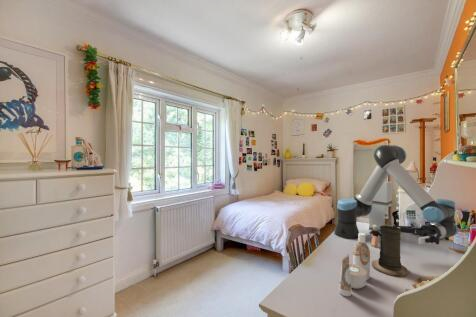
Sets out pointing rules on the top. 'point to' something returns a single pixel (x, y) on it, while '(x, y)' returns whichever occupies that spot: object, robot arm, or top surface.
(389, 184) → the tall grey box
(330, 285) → the top surface
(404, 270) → the walnut board
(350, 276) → the cosmetic set
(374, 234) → the grandmother figurine
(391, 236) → the container
